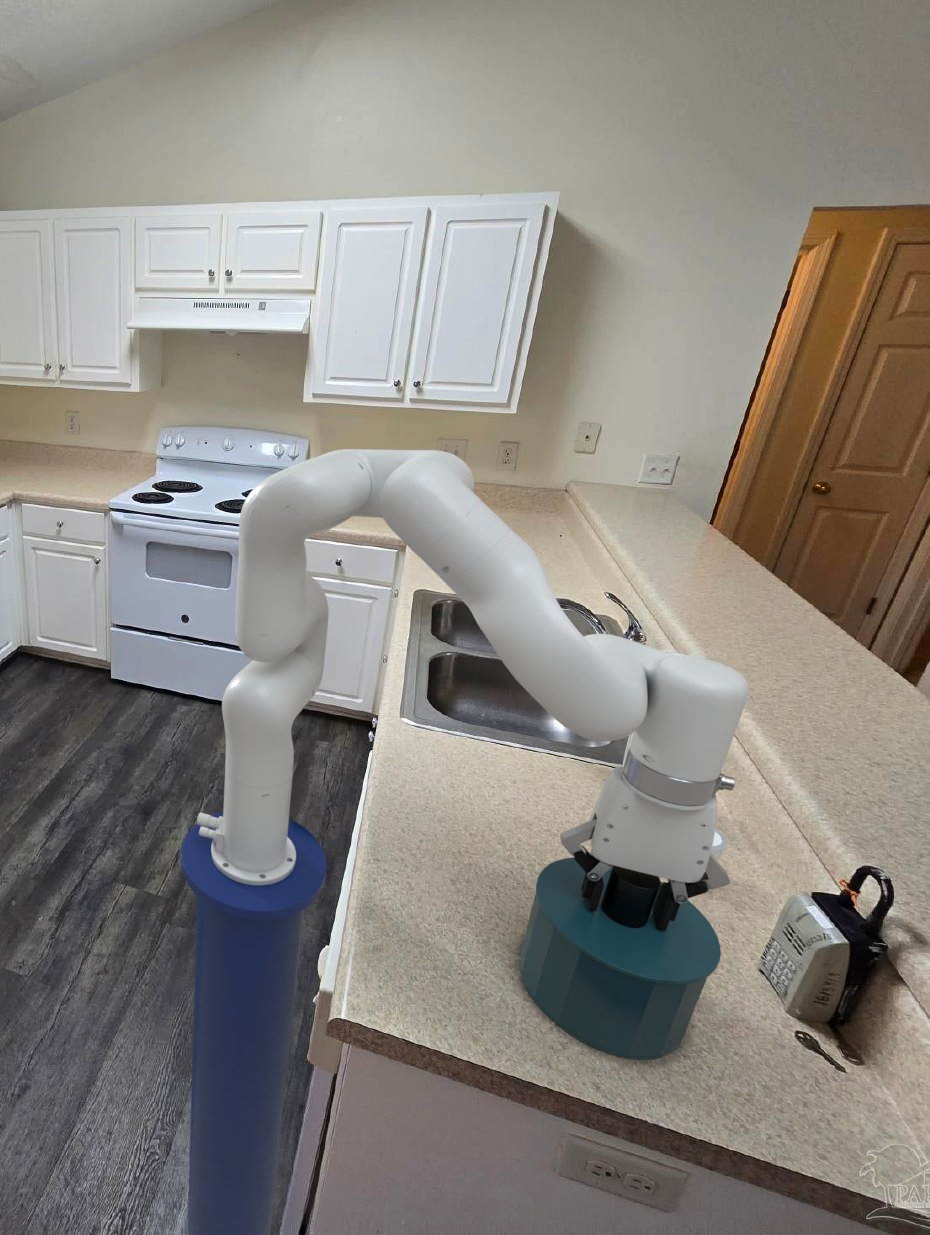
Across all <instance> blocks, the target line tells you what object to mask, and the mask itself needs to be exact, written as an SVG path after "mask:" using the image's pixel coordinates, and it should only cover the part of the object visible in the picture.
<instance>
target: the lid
mask: <svg viewBox="0 0 930 1235" xmlns="http://www.w3.org/2000/svg"><path fill="white" fill-rule="evenodd" d="M585 873H586V872H585V871H584V870H583V869H582V868H581V866H580V865H579V864H578V863H577V862H576V860H575V858H574V856H572V857H567V858H562V859H561V858H560V859H557V860H555V861H553V862H551V863H549V864H548V865H546V866H545V867H543V869H542V870H541V871H540V873H539V874H538V876H537V880H536V884H535V895H537V900H538V903H539V905H540V908H541V910H542V911H543V913H544V915H545V916H546V918H547V919H548V921H549V922H550V923H551V925H552V926H553V927H554V928H555V929H556V930H557V931H558V932H559V933H560V934H561V935H562V936H563V937H564V938H565V939H566V940H567V941H569V942H570V943H571V944H572V945H573V946H575V947H576V948H577V949H579V950H580V951H582V952H583V953H585V954H586V955H588V956H589V957H591V958H593V959H594V960H596V961H598V962H599V963H601V964H603V965H605V966H607V967H609V968H611V969H614V970H616V971H618V972H621V973H623V974H626V975H629V976H632V977H635V978H638V979H642V980H646V981H650V982H655V983H661V984H673V985H677V984H689V983H694V982H698V981H700V980H703V979H705V978H706V977H707V978H708V977H710V976H711V975H712V974H713V973H714V972H715V971H716V970H717V968H718V965H719V964H720V960H721V955H722V950H721V943H720V941H719V940H720V939H719V937H718V935H717V933H716V930H715V929H714V928H713V926H712V924H711V922H710V921H709V920H708V918H706V917H705V915H704V914H703V913H702V912H701V910H699V909H698V908H697V907H696V905H694V904H693V903H692V902H691V901H690V900H688V902H687V903H685V904H680V907H679V909H678V912H677V915H676V918H675V920H674V921H669V924H668V926H667V929H666V931H663V930H660V929H659V928H657V925H656V922H655V918H654V915H653V911H652V908H653V905H654V902H655V899H656V896H657V893H658V890H659V888H660V885H661V884H663V882H664V881H661V879H660V878H661V877H658V876H654V875H650V874H646V873H642V872H638V871H634V870H630V869H626V868H622V867H618V866H613V867H612V868H611V869H610V870H609V871H608V872H607V873H606V874H605V875H604V876H603V877H602V878H603V883H604V888H603V891H602V894H601V898H600V901H599V904H598V907H597V910H596V911H594V912H593V911H590V910H588V905H587V899H586V898H585V897H582V894H581V887H582V883H583V880H584V876H585Z"/></svg>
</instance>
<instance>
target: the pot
mask: <svg viewBox="0 0 930 1235" xmlns="http://www.w3.org/2000/svg"><path fill="white" fill-rule="evenodd" d="M531 906H532V907H531V909H530V914H529V918H528V920H527V921H528V922H527V926H526V929H525V933H524V936H523V940H522V944H521V947H520V952H519V956H520V957H519V970H520V975H521V979H522V982H523V984H524V986H525V988H526V991H527V992H528V994H529V995H530V997H531V999H532V1000H533V1001H534V1003H535V1004H536V1005H537V1007H538V1008H539V1009H540V1010H541V1011H542V1012H543V1013H544V1014H545V1016H546V1017H548V1018H549V1019H550V1020H551V1021H552V1022H553V1023H554V1024H555V1025H557V1026H558V1027H559V1028H561V1029H562V1030H563V1031H565V1032H566V1033H568V1034H569V1035H570V1036H572V1037H573V1038H575V1039H577V1040H578V1041H580V1042H582V1043H583V1044H584V1045H587V1046H590V1047H591V1048H593V1049H596V1050H598V1051H601V1052H603V1053H606V1054H609V1055H612V1056H616V1057H618V1058H624V1059H629V1060H640V1061H643V1060H644V1061H645V1060H654V1059H659V1058H660V1059H661V1058H662V1057H665V1056H667V1055H669V1054H671V1053H672V1052H673V1051H675V1050H676V1048H678V1047H679V1046H681V1043H682V1041H683V1038H684V1036H685V1033H686V1031H687V1029H688V1026H689V1024H690V1021H691V1019H692V1016H693V1013H694V1011H695V1009H696V1007H697V1004H698V1001H699V999H700V997H701V994H702V991H703V990H704V987H705V984H706V982H707V979H708V977H706V978H705V979H703V980H700V981H698V982H694V983H689V984H677V985H673V984H661V983H655V982H650V981H646V980H642V979H638V978H635V977H632V976H629V975H626V974H623V973H621V972H618V971H616V970H614V969H611V968H609V967H607V966H605V965H603V964H601V963H599V962H598V961H596V960H594V959H593V958H591V957H589V956H588V955H586V954H585V953H583V952H582V951H580V950H579V949H577V948H576V947H575V946H573V945H572V944H571V943H570V942H569V941H567V940H566V939H565V938H564V937H563V936H562V935H561V934H560V933H559V932H558V931H557V930H556V929H555V928H554V927H553V926H552V925H551V923H550V922H549V921H548V919H547V918H546V916H545V915H544V913H543V911H542V910H541V908H540V905H539V903H538V900H537V895H536V894H535V895H534V898H533V902H532V905H531Z"/></svg>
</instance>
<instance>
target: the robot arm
mask: <svg viewBox="0 0 930 1235" xmlns="http://www.w3.org/2000/svg"><path fill="white" fill-rule="evenodd" d="M352 517H362V518H363V517H364V518H379V519H383V521H384V522H385V524H386V525H387V526H388V527H389V529H390V530H391V531H392V532H393V533H394V534H395V535H396V536H397V537H398V538H399V539H400V540H401V541H402V542H403V543H404V544H405V545H406V546H407V547H408V548H409V549H410V550H411V551H412V552H413V553H414V554H415V555H416V556H417V557H419V558H420V559H421V560H422V561H423V562H424V563H425V564H426V565H427V566H428V567H429V569H431V570H432V571H433V572H434V573H435V574H436V575H437V576H438V577H439V578H440V579H441V580H442V581H443V582H444V584H446V586H447V587H448V588H449V589H450V590H451V591H452V592H453V593H454V594H456V596H457V597H458V598H459V599H460V600H461V601H462V602H463V603H464V604H465V605H466V606H467V608H468V609H469V610H470V612H471V613H472V616H473V618H474V620H475V622H476V624H477V625H478V627H479V629H480V630H481V632H482V633H483V634H484V636H485V638H486V639H487V640H488V643H489V644H490V645H491V647H492V648H493V651H495V653H496V654H497V656H498V657H499V659H500V660H501V662H502V663H503V665H504V666H505V668H506V669H507V671H509V673H510V674H511V675H512V676H513V677H514V679H515V681H517V682H518V684H520V686H521V687H522V688H523V689H524V690H525V691H526V692H527V693H528V694H529V695H530V696H531V697H532V698H533V699H534V700H535V701H536V702H537V703H538V704H539V705H540V706H541V707H542V708H543V709H544V710H545V711H546V712H547V713H548V714H549V715H550V716H551V717H552V718H553V719H554V720H556V721H557V722H558V723H559V724H560V725H561V726H563V727H564V728H565V729H568V730H569V731H571V732H572V733H573V734H575V735H577V736H579V737H582V738H584V739H587V740H590V741H595V742H615V741H620V740H622V739H625V738H627V737H628V738H629V735H631V734H632V733H633V732H634V735H633V738H632V742H631V745H630V748H629V751H628V755H627V758H626V761H625V765H624V767H622V766H616V767H614V768H613V769H612V770H611V772H610V773H609V775H608V777H607V778H606V779H605V782H604V783H603V786H602V788H601V790H600V792H599V794H598V796H597V798H596V801H595V804H594V806H593V808H592V811H591V813H590V816H589V819H588V821H586V822H584V823H581V824H579V825H577V826H574V827H572V828H570V829H567V830H565V831H562V832H561V833H560V836H559V837H560V842H561V845H562V846H563V847H564V848H565V849H566V850H567V852H568V853H569V854H570V855H572V857H574V858H575V860H576V862H577V863H578V864H579V865H580V866H581V868H582V869H583V870H584V871H585V872H586V873H585V876H584V880H583V883H582V887H581V894H582V897H585V898H586V899H587V905H588V910H590V911H593V912H594V911H596V910H597V907H598V904H599V901H600V898H601V894H602V891H603V888H604V883H603V878H602V877H603V876H604V875H605V874H606V873H607V872H608V871H609V870H610V869H611V868H612V867H613V866H618V867H622V868H626V869H630V870H634V871H638V872H642V873H646V874H650V875H654V876H658V877H659V878H663V879H665V880H667V881H668V882H665V881H662V882H663V884H661V885H660V888H659V890H658V893H657V896H656V899H655V902H654V905H653V908H652V911H653V915H654V918H655V922H656V925H657V928H659V929H660V930H663V931H666V929H667V926H668V924H669V921H674V920H675V918H676V915H677V912H678V909H679V907H680V904H685V903H687V902H688V901H689V899H690V898H694V897H697V896H700V895H704V894H706V893H707V892H708V891H709V890H714V889H717V888H718V889H719V888H722V887H724V886H728V885H730V883H731V880H730V878H729V875H728V873H727V871H726V870H725V868H724V867H723V866H722V865H721V864H720V862H719V861H717V860H716V859H715V858H714V856H713V855H712V854H711V849H712V845H713V840H714V834H715V829H717V819H718V799H717V795H716V794H717V793H718V791H723V790H727V791H733V790H734V788H735V777H732V776H728V775H726V774H724V773H721V772H722V770H723V767H724V764H725V761H726V759H727V755H728V753H729V750H730V748H731V745H732V741H733V739H734V736H735V734H736V731H737V728H738V725H739V722H740V720H741V717H742V714H743V711H744V709H745V705H746V703H747V700H748V696H749V692H750V688H749V684H748V681H747V679H746V678H745V677H744V676H743V675H742V674H741V673H740V672H739V671H738V670H736V669H734V668H733V667H731V666H729V665H727V664H724V663H721V662H719V661H716V660H713V659H709V658H705V657H703V658H701V657H702V656H701V657H694V656H689V655H687V656H684V655H685V654H684V655H674V654H671V652H664V651H661V650H662V649H657V648H654V647H651V646H649V645H646V644H644V643H640V642H638V641H635V640H631V639H628V638H626V637H623V636H618V635H614V634H608V633H592V634H587V635H583V634H582V633H581V632H580V631H579V630H578V628H577V627H576V626H575V625H574V624H573V622H572V621H571V620H570V619H569V617H568V615H567V613H565V611H564V610H563V608H562V607H561V605H560V603H559V602H558V600H557V598H556V597H555V596H556V595H555V594H554V592H553V590H552V587H551V586H550V583H549V579H548V576H547V574H546V571H545V568H544V566H543V564H542V562H541V560H540V559H539V557H538V555H537V554H536V552H535V550H534V549H533V548H532V547H531V545H529V544H528V543H527V542H526V541H525V540H524V539H522V538H521V537H520V536H519V535H518V534H517V532H515V531H514V529H512V528H511V527H510V526H509V525H508V524H507V523H506V522H505V521H504V520H503V519H501V517H499V516H498V515H497V514H496V513H495V512H494V511H493V510H492V509H491V508H490V507H489V506H488V505H487V504H486V503H485V502H484V501H482V499H481V498H480V497H479V496H477V494H475V479H474V475H473V472H472V471H471V468H470V467H469V465H468V464H467V463H466V462H465V461H464V460H463V459H461V458H460V457H458V456H457V455H456V454H454V453H451V452H448V451H444V450H438V449H437V450H436V449H371V448H370V449H368V448H363V449H362V448H343V449H337V450H332V451H329V452H326V453H323V454H321V455H318V456H315V457H312V458H309V459H306V460H303V461H301V462H299V463H296V464H293V465H290V466H289V467H286V468H284V469H282V470H280V471H278V472H275V473H273V474H272V475H270V476H267V477H266V478H265V479H263V480H261V481H260V482H259V483H258V484H256V485H255V487H253V489H252V490H251V491H250V492H249V494H248V495H247V497H246V498H245V500H244V502H243V504H242V507H241V511H240V516H239V523H238V562H237V574H236V594H235V595H236V596H235V612H234V613H235V614H234V635H235V639H236V643H237V645H238V647H239V649H240V651H241V652H242V653H243V654H244V656H245V657H247V658H248V659H250V660H251V661H250V662H249V663H247V665H246V666H244V667H243V668H242V669H241V670H239V672H238V673H236V675H235V676H234V677H233V678H232V679H231V681H229V684H228V685H227V686H226V688H225V690H224V693H223V696H222V701H221V713H222V714H221V715H222V720H223V726H224V735H225V736H224V737H225V759H224V769H225V770H224V786H223V788H224V790H223V817H222V816H219V818H216V817H212V816H211V815H212V814H211V815H210V814H207V813H203V812H199V813H198V815H197V819H196V824H197V825H199V826H201V827H200V830H199V835H200V836H203V837H208V838H212V839H213V842H212V846H211V855H212V859H213V862H214V864H215V865H216V867H217V868H218V869H219V870H220V871H221V872H222V873H223V874H224V875H225V876H227V877H228V878H230V879H232V880H234V881H236V882H240V883H243V884H247V885H255V886H263V885H270V884H274V883H277V882H279V881H281V880H283V879H285V878H286V877H287V876H289V874H290V873H291V872H292V871H293V869H294V866H295V862H296V850H295V847H294V845H293V843H292V841H291V840H290V839H289V838H288V837H287V834H288V822H289V819H290V810H291V798H292V786H293V776H294V762H295V757H294V756H295V750H294V744H293V738H292V728H293V725H294V721H295V719H297V716H299V714H300V713H301V712H302V711H303V709H304V708H305V707H306V705H307V704H308V703H309V702H310V701H311V700H312V699H313V697H314V696H315V695H316V693H317V692H318V691H319V688H320V686H321V683H322V679H323V674H324V670H325V669H324V668H325V658H326V647H327V636H328V626H329V615H330V614H329V613H330V612H329V611H330V610H329V603H328V599H327V596H326V593H325V591H324V589H323V587H322V586H321V584H320V583H319V582H318V581H317V580H316V579H315V578H314V577H312V576H311V575H309V574H307V565H308V564H307V561H308V560H307V559H308V558H307V550H306V546H305V542H306V540H307V539H308V538H310V537H312V536H315V535H317V534H322V533H325V532H328V531H331V530H332V529H334V528H336V527H338V526H339V525H341V524H343V523H344V522H346V521H348V520H349V519H351V518H352ZM202 826H203V827H202ZM209 828H212V829H216V830H211V829H209ZM590 840H591V849H590V852H589V851H588V850H587V848H586V847H585V846H584V845H582V843H586V842H587V841H590ZM705 870H706V871H705Z"/></svg>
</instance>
